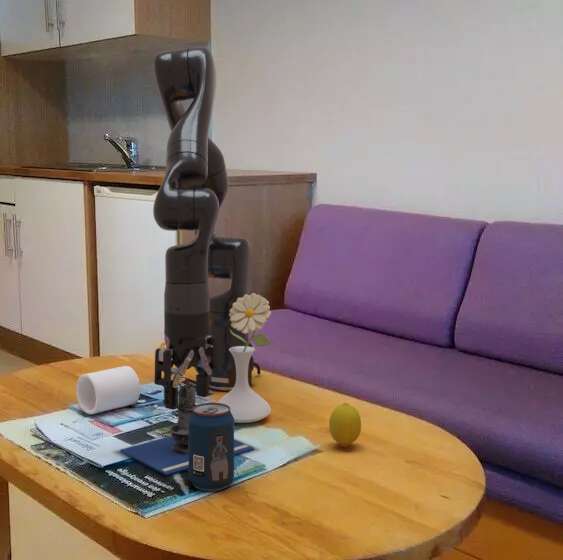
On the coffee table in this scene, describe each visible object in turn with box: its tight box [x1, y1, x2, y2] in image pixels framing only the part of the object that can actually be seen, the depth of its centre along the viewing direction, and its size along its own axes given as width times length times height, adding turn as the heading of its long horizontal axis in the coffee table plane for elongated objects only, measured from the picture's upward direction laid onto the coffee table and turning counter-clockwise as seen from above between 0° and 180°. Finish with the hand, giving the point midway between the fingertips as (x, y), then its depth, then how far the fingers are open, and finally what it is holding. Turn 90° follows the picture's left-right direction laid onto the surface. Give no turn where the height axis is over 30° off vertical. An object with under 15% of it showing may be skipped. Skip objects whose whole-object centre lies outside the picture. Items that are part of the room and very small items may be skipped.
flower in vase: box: [216, 292, 272, 424], centre depth 147 cm, size 13×11×25 cm
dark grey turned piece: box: [169, 380, 197, 454], centre depth 131 cm, size 6×6×12 cm
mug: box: [75, 365, 141, 416], centre depth 155 cm, size 12×10×8 cm
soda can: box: [188, 402, 235, 492], centre depth 118 cm, size 7×7×12 cm
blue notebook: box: [119, 435, 255, 477], centre depth 132 cm, size 18×14×1 cm
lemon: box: [328, 402, 362, 448], centre depth 134 cm, size 6×6×8 cm
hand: (187, 402), depth 131 cm, fingers open, 8 cm apart
